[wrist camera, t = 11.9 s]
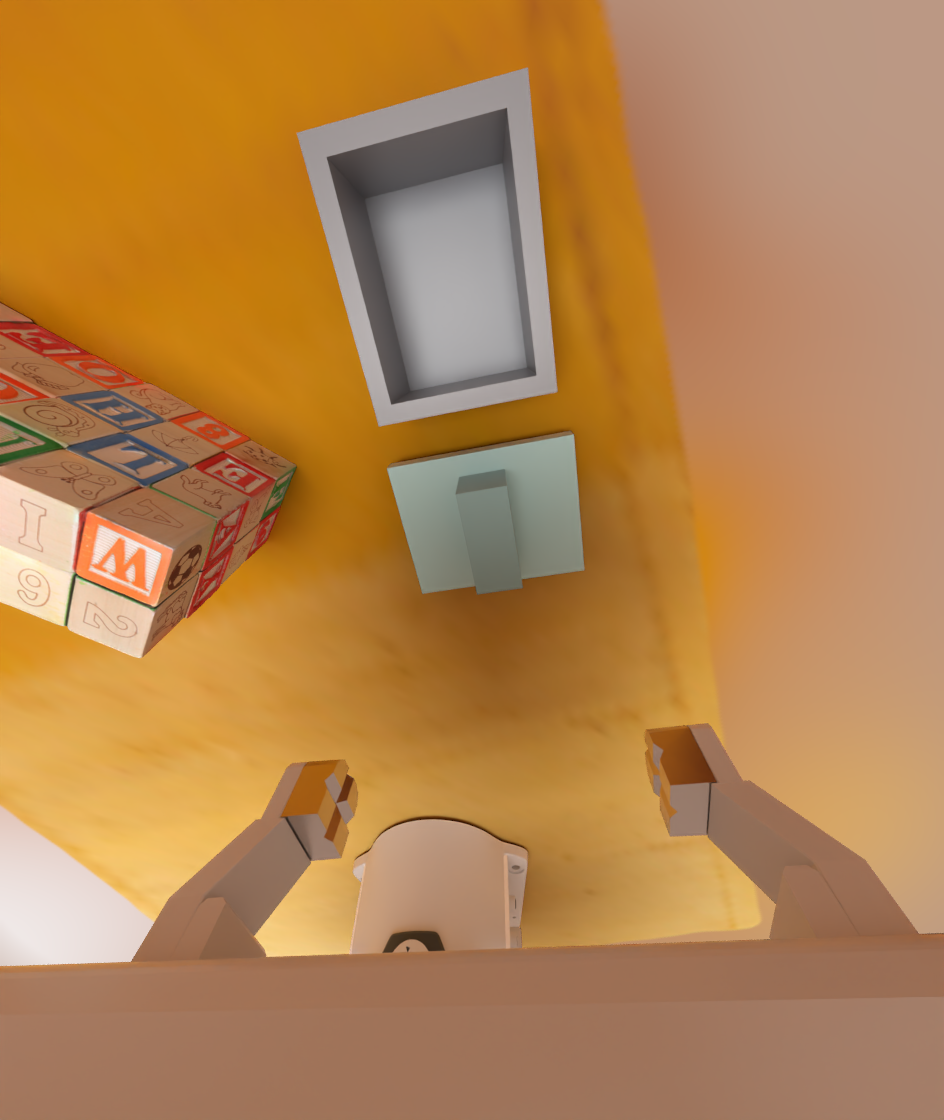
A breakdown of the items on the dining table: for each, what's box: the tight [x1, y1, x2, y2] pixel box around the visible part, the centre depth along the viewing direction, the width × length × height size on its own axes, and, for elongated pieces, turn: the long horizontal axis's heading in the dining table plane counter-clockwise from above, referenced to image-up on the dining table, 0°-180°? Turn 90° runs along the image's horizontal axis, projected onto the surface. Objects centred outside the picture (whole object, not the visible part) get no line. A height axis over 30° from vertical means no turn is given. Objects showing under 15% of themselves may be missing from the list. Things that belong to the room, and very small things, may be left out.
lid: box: [387, 431, 584, 594], centre depth 25 cm, size 10×8×5 cm
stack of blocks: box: [0, 303, 296, 658], centre depth 20 cm, size 21×6×12 cm, turn 59°
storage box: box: [297, 68, 557, 426], centre depth 19 cm, size 10×8×6 cm
